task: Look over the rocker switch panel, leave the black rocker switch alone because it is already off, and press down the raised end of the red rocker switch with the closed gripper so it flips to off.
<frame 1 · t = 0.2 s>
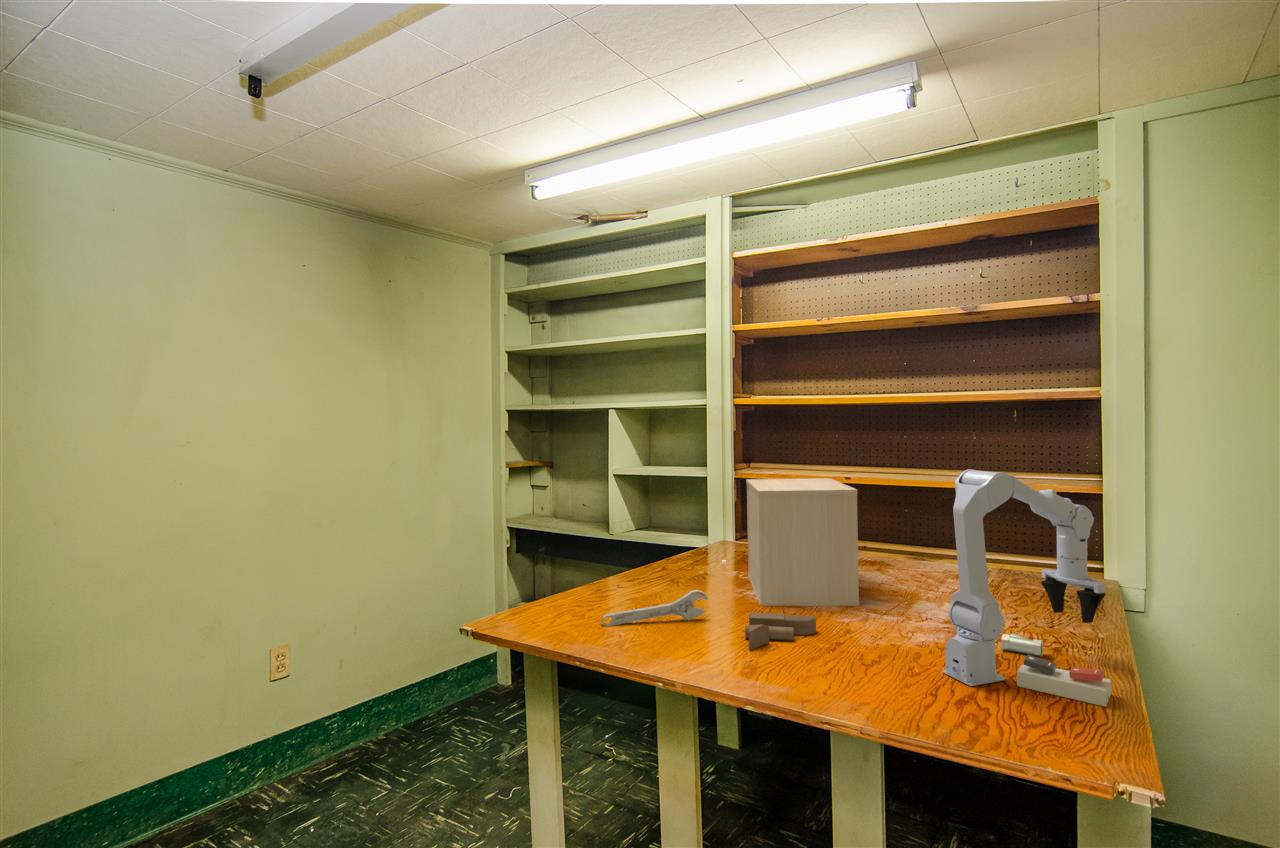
hand: (1072, 617, 147), 10 cm above the table, tool pointing down, fingers open, 7 cm apart
red rocker: (1086, 673, 129), point 4 cm above the table, hinge at 8.0°
rocker switch panel: (1063, 690, 132), on the table
pipe fitting: (1023, 652, 154), on the table
wooden block set: (781, 642, 164), on the table
black rocker: (1040, 664, 134), point 4 cm above the table, hinge at -8.0°
wrench: (655, 623, 181), on the table
beige wooden block: (798, 590, 210), on the table
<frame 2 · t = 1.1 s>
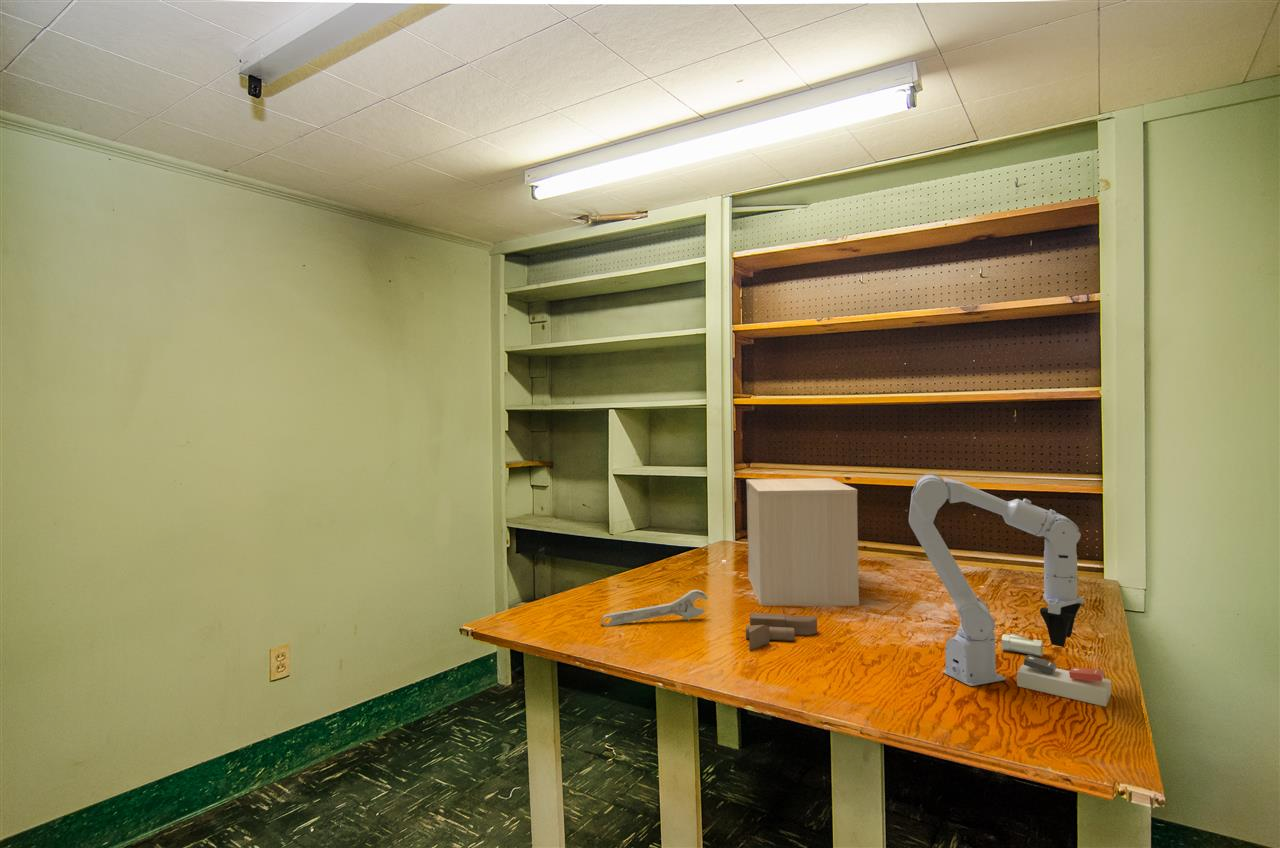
hand: (1061, 640, 133), 9 cm above the table, tool pointing down, fingers open, 6 cm apart
nothing on the table moved.
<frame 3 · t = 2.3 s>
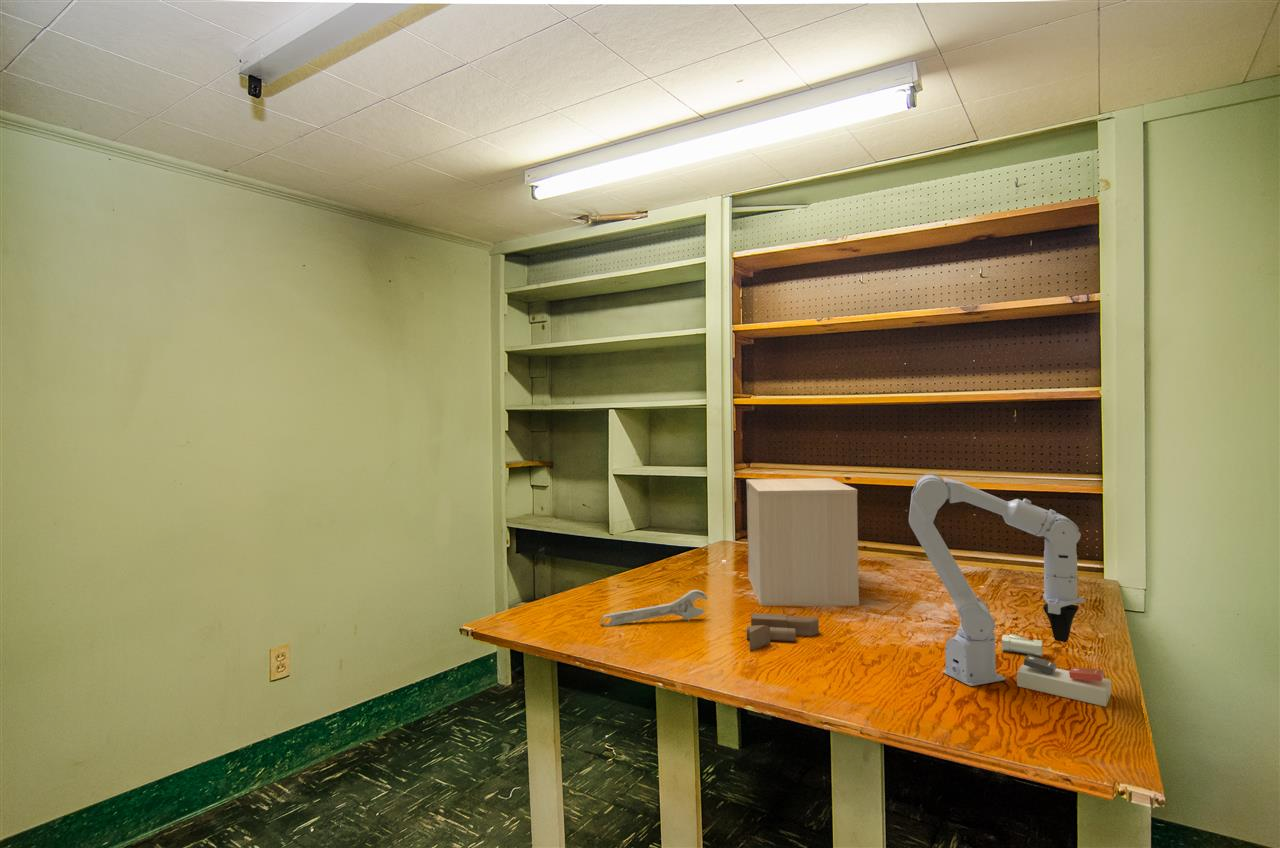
hand: (1061, 640, 133), 9 cm above the table, tool pointing down, fingers closed
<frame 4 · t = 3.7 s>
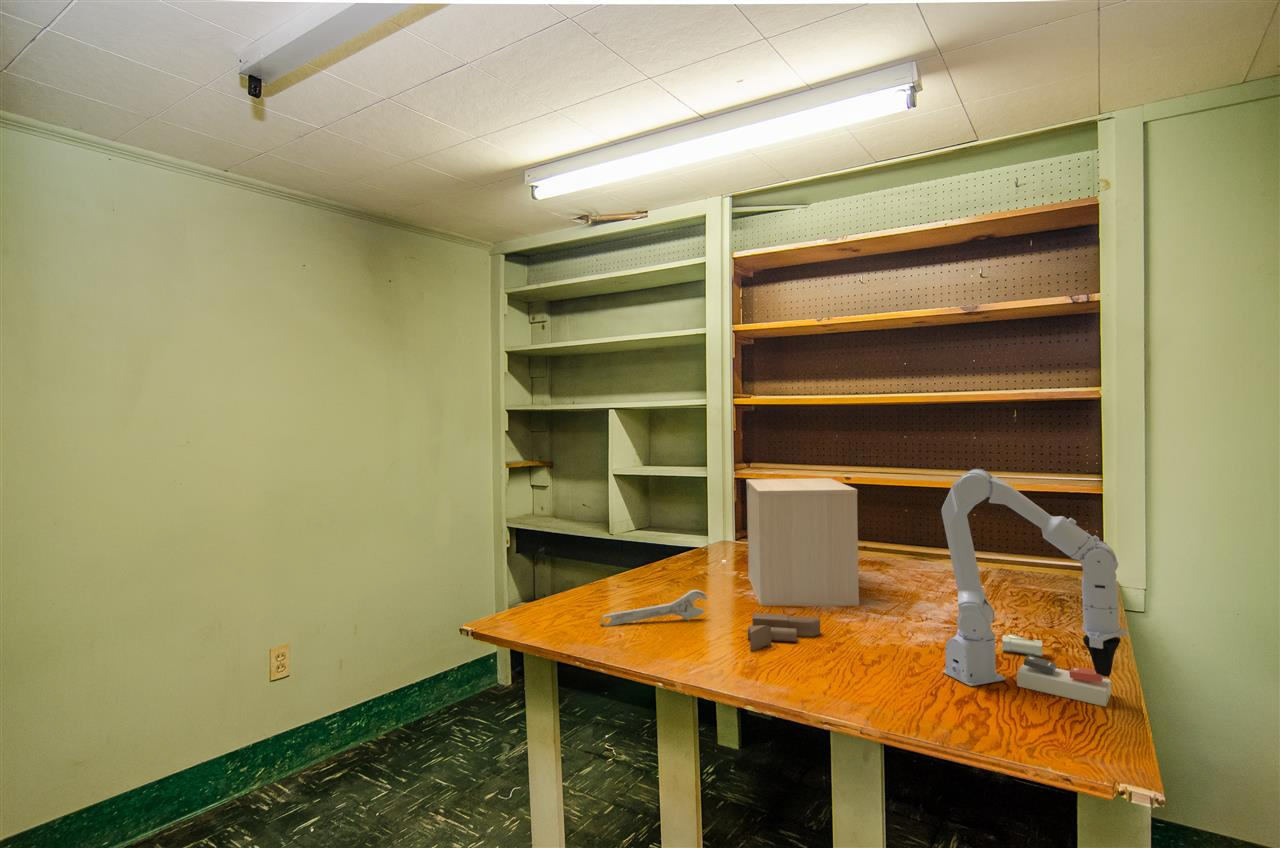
hand: (1103, 674, 127), 5 cm above the table, tool pointing down, fingers closed, pressing on red rocker
red rocker: (1086, 673, 129), point 4 cm above the table, hinge at 5.6°, touching gripper
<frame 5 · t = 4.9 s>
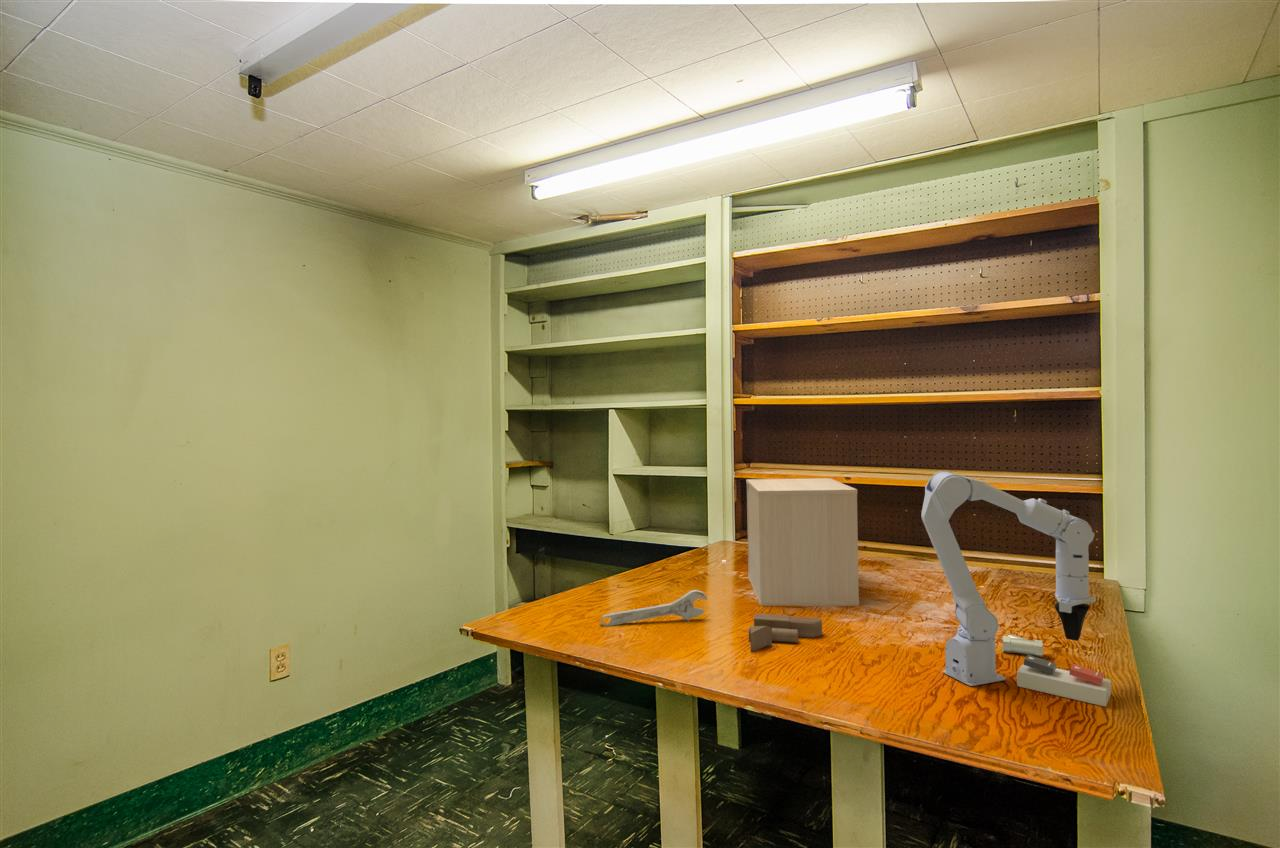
hand: (1072, 639, 135), 9 cm above the table, tool pointing down, fingers closed
red rocker: (1086, 673, 129), point 4 cm above the table, hinge at -7.9°
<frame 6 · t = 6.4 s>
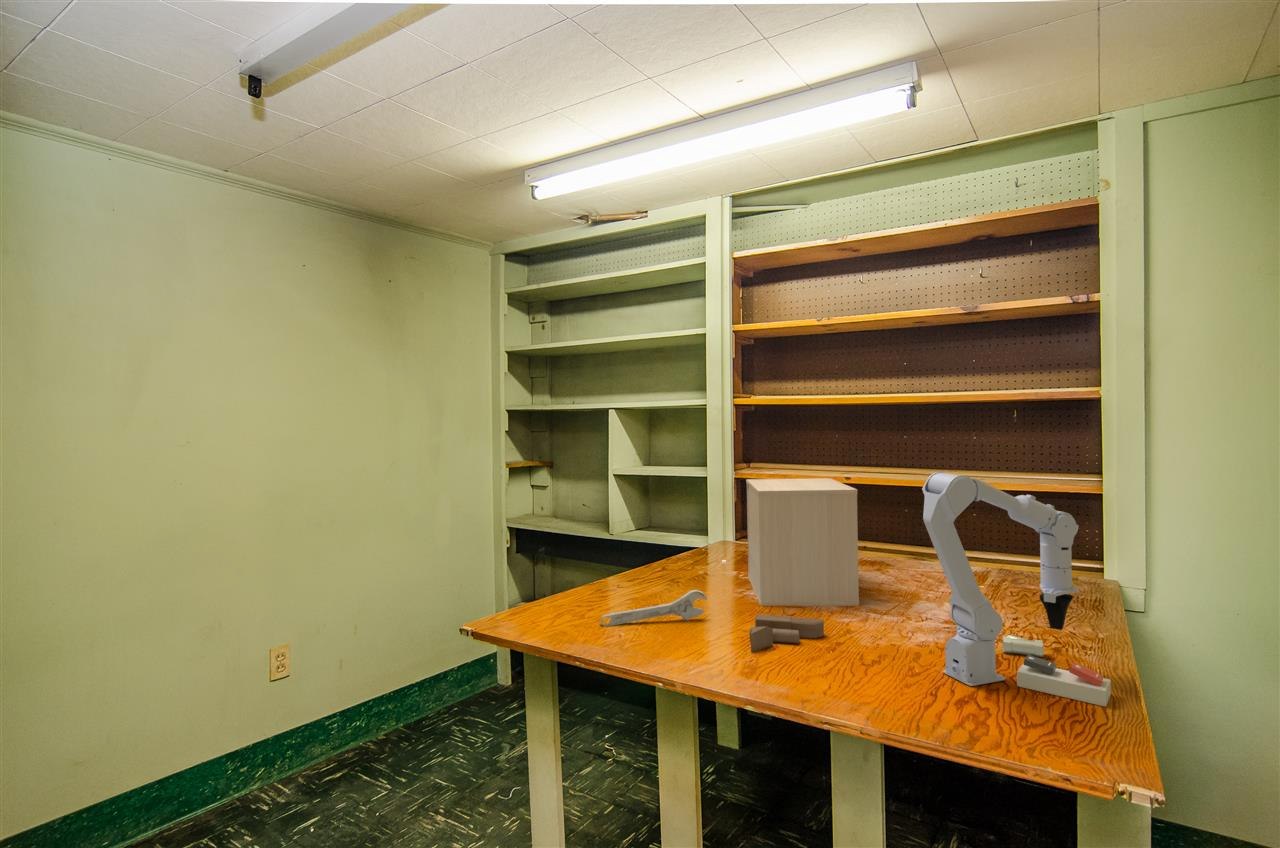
hand: (1056, 628, 141), 9 cm above the table, tool pointing down, fingers closed
red rocker: (1086, 673, 129), point 4 cm above the table, hinge at -17.8°, touching rocker switch panel
at the end: red rocker at -17° (first picture: +8°); black rocker at -8° (first picture: -8°) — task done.
